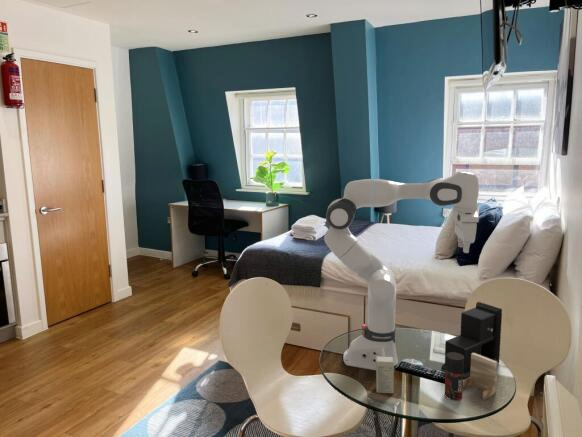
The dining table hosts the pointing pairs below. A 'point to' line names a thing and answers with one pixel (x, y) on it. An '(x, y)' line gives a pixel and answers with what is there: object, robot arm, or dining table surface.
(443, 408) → the dining table surface
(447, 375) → the deodorant
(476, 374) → the rack
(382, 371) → the skincare box
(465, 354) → the bookend
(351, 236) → the robot arm
